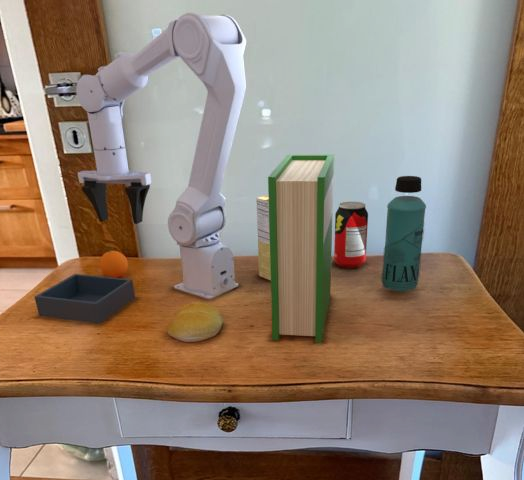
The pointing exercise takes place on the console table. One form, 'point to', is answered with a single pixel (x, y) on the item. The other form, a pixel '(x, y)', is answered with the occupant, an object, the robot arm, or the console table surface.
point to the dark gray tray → (85, 298)
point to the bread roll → (195, 322)
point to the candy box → (263, 237)
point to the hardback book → (301, 244)
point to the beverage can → (350, 234)
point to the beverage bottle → (403, 237)
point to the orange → (113, 264)
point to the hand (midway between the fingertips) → (121, 221)
